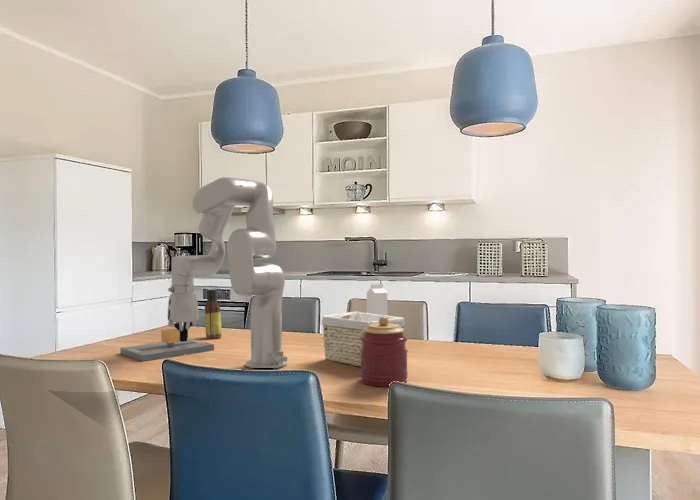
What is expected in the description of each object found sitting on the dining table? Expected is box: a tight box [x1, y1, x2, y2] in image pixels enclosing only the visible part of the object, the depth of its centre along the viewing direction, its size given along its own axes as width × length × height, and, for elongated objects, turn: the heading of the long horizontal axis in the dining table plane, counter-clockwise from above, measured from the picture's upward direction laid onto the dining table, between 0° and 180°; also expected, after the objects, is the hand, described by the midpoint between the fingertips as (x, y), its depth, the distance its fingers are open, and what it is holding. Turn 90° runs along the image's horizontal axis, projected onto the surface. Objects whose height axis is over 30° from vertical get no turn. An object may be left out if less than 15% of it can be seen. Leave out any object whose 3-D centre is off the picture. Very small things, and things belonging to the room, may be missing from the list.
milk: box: [366, 283, 388, 316], centre depth 206 cm, size 6×6×22 cm
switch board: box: [119, 337, 215, 363], centre depth 183 cm, size 18×26×2 cm
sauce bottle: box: [204, 288, 222, 340], centre depth 211 cm, size 6×6×20 cm
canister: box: [359, 317, 409, 388], centre depth 142 cm, size 13×13×18 cm
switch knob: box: [160, 328, 180, 345], centre depth 184 cm, size 6×4×5 cm, turn 45°
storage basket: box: [321, 310, 406, 368], centre depth 167 cm, size 24×16×15 cm
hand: (182, 340), depth 187 cm, fingers closed
